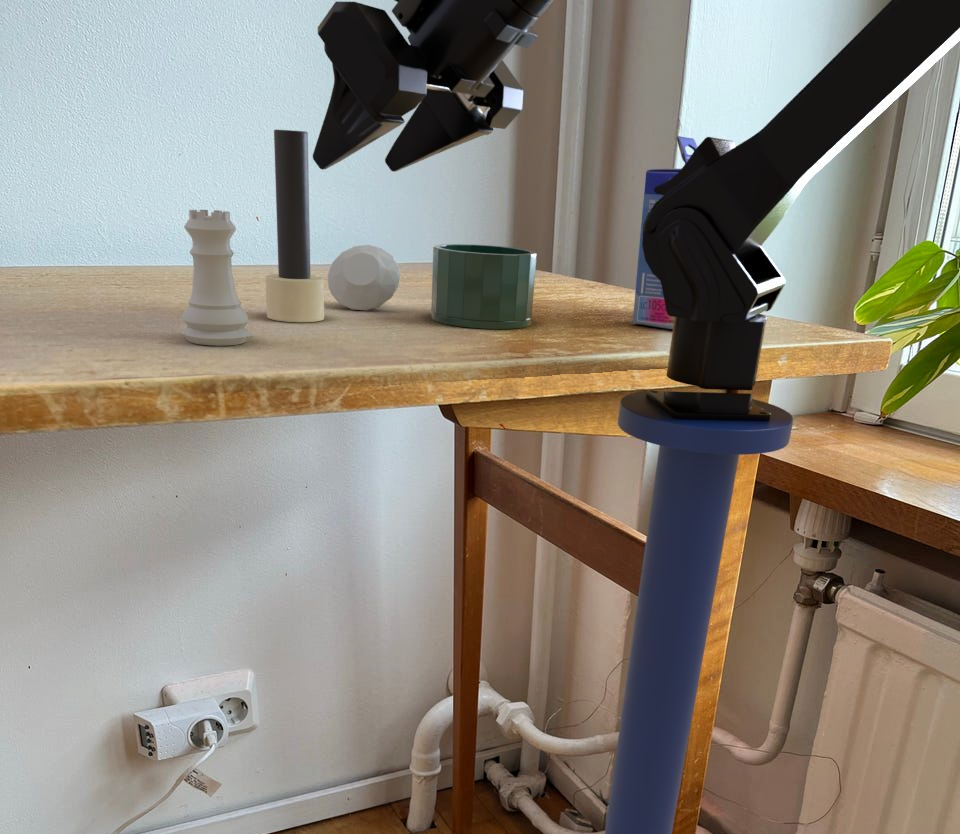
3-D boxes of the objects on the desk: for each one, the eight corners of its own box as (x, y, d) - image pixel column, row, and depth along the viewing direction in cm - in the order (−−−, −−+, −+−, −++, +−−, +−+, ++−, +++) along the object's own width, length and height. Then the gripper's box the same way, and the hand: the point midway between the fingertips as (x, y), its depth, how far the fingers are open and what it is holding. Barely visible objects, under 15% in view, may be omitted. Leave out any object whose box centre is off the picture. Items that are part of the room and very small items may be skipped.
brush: (324, 323, 75) (321, 132, 69) (265, 321, 74) (258, 128, 68) (323, 314, 79) (321, 132, 73) (268, 312, 78) (261, 129, 72)
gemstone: (403, 268, 87) (395, 232, 82) (407, 330, 85) (400, 298, 80) (334, 275, 87) (322, 240, 82) (337, 337, 86) (326, 305, 81)
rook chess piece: (264, 340, 67) (259, 213, 63) (222, 349, 63) (215, 214, 60) (211, 332, 68) (203, 207, 65) (168, 340, 65) (157, 209, 61)
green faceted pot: (540, 330, 78) (546, 256, 75) (436, 327, 76) (439, 251, 74) (521, 314, 85) (526, 246, 82) (426, 311, 83) (428, 242, 81)
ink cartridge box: (670, 313, 91) (694, 139, 85) (727, 321, 89) (756, 142, 82) (625, 324, 83) (648, 133, 77) (686, 332, 81) (715, 136, 74)
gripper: (495, -96, 68) (359, 82, 77) (345, -179, 52) (197, 55, 61) (589, 39, 68) (443, 200, 77) (467, -4, 53) (303, 202, 62)
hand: (355, 165), depth 69 cm, fingers open, 9 cm apart
